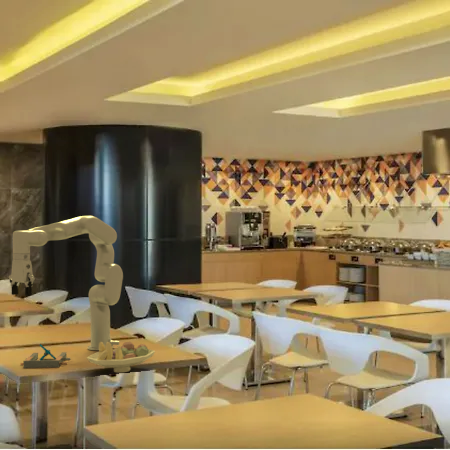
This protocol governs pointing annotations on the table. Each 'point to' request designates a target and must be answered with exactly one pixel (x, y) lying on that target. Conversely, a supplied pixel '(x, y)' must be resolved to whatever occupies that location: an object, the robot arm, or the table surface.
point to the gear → (46, 353)
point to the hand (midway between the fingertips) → (21, 295)
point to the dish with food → (120, 356)
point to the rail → (44, 361)
